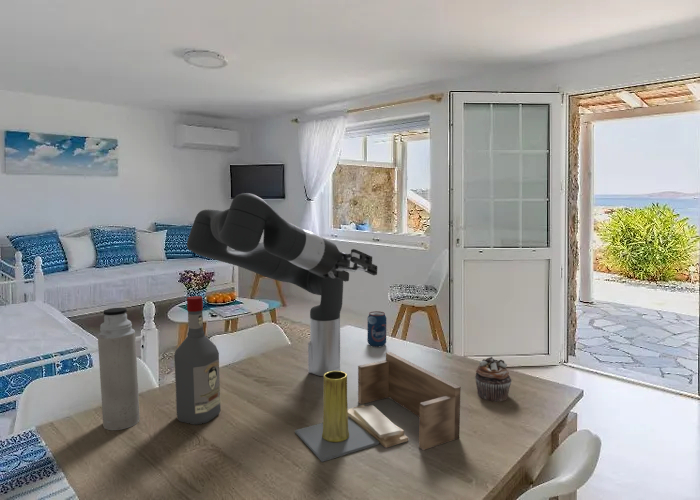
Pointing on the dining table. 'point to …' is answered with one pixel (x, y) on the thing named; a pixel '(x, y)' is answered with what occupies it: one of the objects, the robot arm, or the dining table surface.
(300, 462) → the dining table surface
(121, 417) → the thermos bottle
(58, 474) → the dining table surface
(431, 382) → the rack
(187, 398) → the liquor
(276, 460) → the dining table surface
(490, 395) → the cupcake
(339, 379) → the vase
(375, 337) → the soda can
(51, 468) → the dining table surface
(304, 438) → the mat
